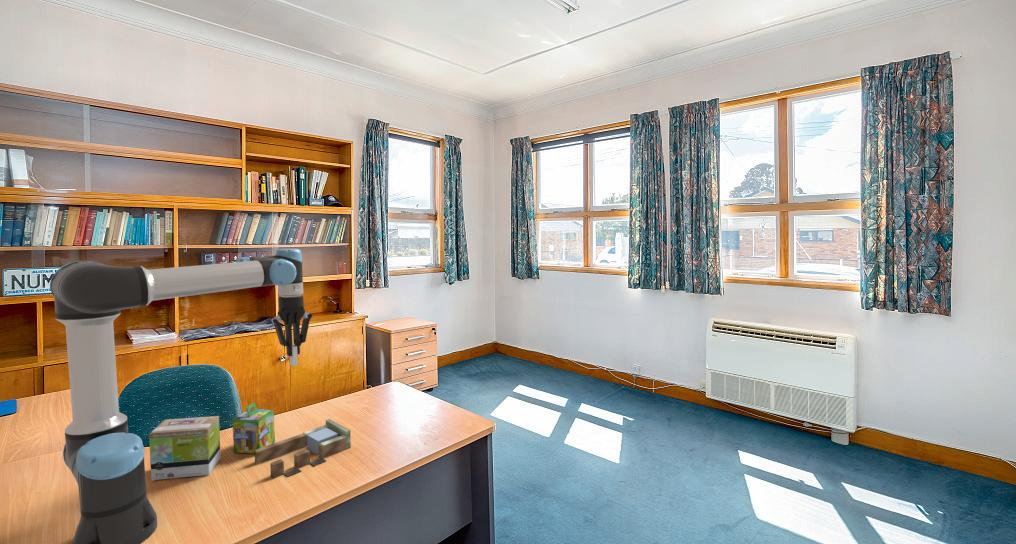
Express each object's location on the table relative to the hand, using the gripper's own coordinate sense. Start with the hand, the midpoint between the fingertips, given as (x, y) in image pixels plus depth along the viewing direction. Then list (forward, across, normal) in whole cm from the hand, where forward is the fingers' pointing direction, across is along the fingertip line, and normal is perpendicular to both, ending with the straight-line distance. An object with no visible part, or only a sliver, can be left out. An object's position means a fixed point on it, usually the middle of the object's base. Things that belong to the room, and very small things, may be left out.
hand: (293, 364), depth 151 cm
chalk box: (+28, -11, +7) cm, 31 cm away
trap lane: (+28, -2, -11) cm, 30 cm away
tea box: (+28, -30, +6) cm, 41 cm away
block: (+28, +4, -10) cm, 30 cm away
